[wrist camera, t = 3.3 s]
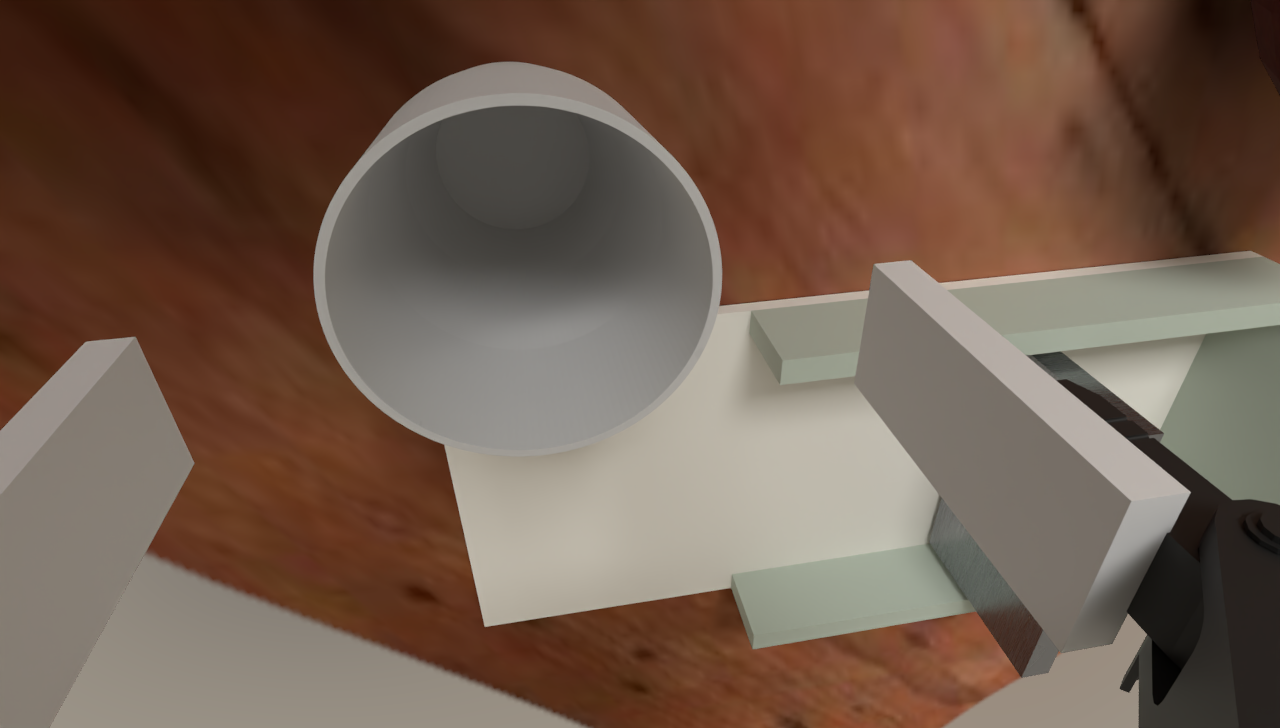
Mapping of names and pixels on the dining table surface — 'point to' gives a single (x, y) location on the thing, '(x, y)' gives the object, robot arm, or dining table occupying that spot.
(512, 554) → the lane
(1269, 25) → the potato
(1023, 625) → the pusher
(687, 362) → the cup
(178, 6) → the dining table surface
